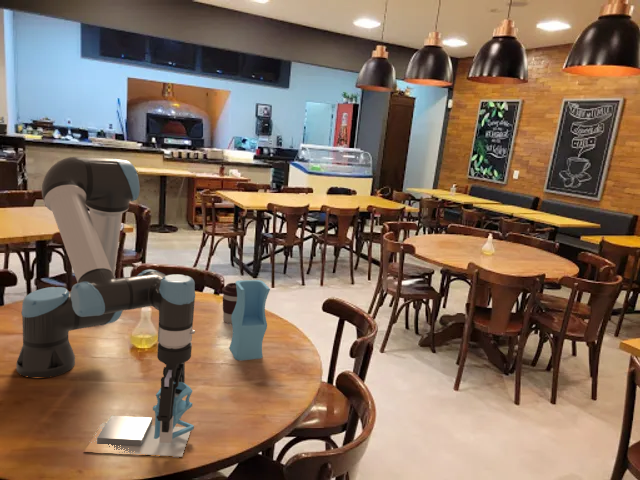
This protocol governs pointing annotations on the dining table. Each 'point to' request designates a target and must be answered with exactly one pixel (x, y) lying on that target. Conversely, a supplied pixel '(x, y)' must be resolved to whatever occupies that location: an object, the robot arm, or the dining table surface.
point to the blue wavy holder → (249, 320)
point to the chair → (176, 411)
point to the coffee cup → (229, 301)
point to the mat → (157, 444)
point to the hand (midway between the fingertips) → (170, 429)
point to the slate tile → (125, 430)
